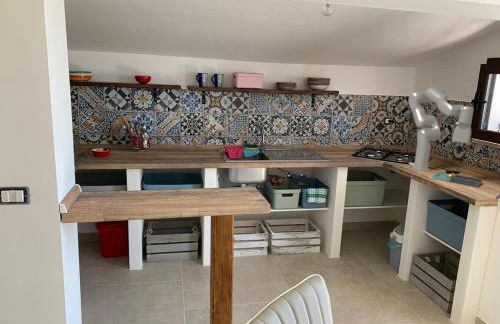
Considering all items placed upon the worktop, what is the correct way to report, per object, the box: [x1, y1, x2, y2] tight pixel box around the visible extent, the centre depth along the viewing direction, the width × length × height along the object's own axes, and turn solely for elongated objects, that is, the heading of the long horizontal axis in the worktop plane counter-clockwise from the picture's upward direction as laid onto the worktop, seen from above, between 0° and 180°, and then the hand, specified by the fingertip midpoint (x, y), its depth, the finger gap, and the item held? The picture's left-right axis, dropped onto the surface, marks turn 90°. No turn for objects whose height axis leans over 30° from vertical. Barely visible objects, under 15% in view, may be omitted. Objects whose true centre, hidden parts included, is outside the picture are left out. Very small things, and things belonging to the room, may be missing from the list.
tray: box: [431, 172, 451, 183], centre depth 263 cm, size 12×14×2 cm
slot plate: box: [449, 174, 483, 188], centre depth 254 cm, size 16×14×3 cm
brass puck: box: [446, 172, 456, 179], centre depth 260 cm, size 5×5×2 cm
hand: (458, 152), depth 256 cm, fingers closed
